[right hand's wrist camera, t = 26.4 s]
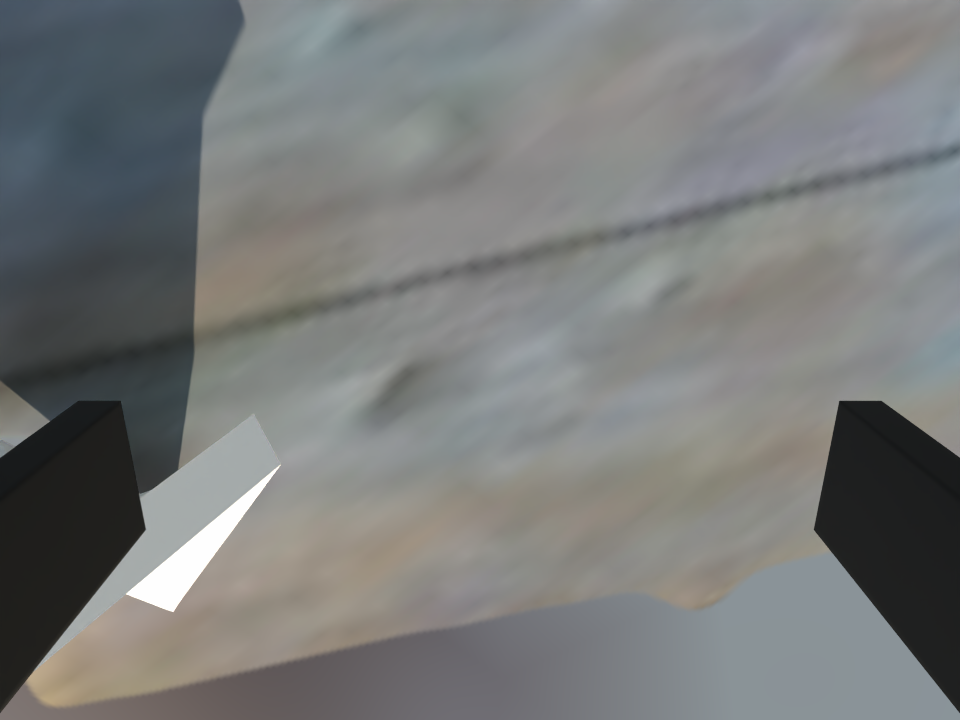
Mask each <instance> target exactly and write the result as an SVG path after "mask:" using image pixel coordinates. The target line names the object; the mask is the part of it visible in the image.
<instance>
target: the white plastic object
mask: <svg viewBox="0 0 960 720" xmlns="http://www.w3.org/2000/svg"><path fill="white" fill-rule="evenodd" d="M14 447H15V446H13V445H11V444H9V443H7V442H5V441H3V440H1V439H0V458H1V457H2V456H3V455H5V454H6V453H7V452H9V451H10V450H12V449H13V448H14ZM280 465H281V463H280V461H279V459H278V458H277V456H276V454H275V452H274V450H273V448H272V446H271V445H270V443H269V441H268V439H267V437H266V435H265V433H264V431H263V430H262V428H261V426H260V424H259V422H258V420H257V418H256V417H255V415H254V414H253V415H251V416H250V417H249V418H247V419H246V420H245V421H243V422H242V423H241V424H239V425H238V426H237V427H235V428H234V429H233V430H231V431H230V432H229V433H227V434H226V435H225V436H223V437H222V438H221V439H219V440H218V441H216V442H215V443H214V444H212V445H211V446H210V447H208V448H207V449H206V450H204V451H203V452H202V453H200V454H199V455H198V456H196V457H195V458H194V459H192V460H191V461H190V462H188V463H187V464H186V465H184V466H183V467H182V468H180V469H179V470H178V471H176V472H175V473H174V474H172V475H171V476H170V477H168V478H167V479H166V480H164V481H163V482H162V483H160V484H159V485H158V486H156V487H155V488H153V489H152V490H150V491H147V492H144V493H141V494H139V497H140V502H141V507H142V512H143V517H144V522H145V527H146V530H145V532H144V533H143V534H142V535H141V537H140V538H139V539H138V540H137V542H136V543H135V544H134V546H133V547H132V548H131V549H130V551H129V552H128V553H127V554H126V556H125V557H124V558H123V559H122V561H121V562H120V563H119V564H118V566H117V567H116V568H115V569H114V571H113V572H112V573H111V574H110V576H109V577H108V578H107V579H106V581H105V582H104V583H103V584H102V586H101V587H100V588H99V589H98V591H97V592H96V593H95V595H94V596H93V597H92V598H91V600H90V601H89V602H88V603H87V605H86V606H85V607H84V608H83V610H82V611H81V612H80V613H79V615H78V616H77V617H76V618H75V620H74V621H73V622H72V623H71V625H70V626H69V627H68V628H67V630H66V631H65V632H64V633H63V635H62V636H61V637H60V638H59V640H58V641H57V642H56V644H55V645H54V646H53V647H52V649H51V650H50V651H49V652H48V654H47V655H46V656H45V657H44V659H43V660H42V661H41V662H40V664H39V665H38V666H37V667H36V669H37V668H38V667H39V666H41V665H42V664H43V663H44V662H45V661H47V660H48V659H49V658H50V657H51V656H53V655H54V654H55V653H56V652H57V651H58V650H60V649H61V648H62V647H63V646H64V645H66V644H67V643H68V642H69V641H70V640H72V639H73V638H74V637H75V636H76V635H78V634H79V633H80V632H81V631H82V630H84V629H85V628H86V627H87V626H88V625H90V624H91V623H92V622H93V621H94V620H96V619H97V618H98V617H99V616H100V615H101V614H103V613H104V612H105V611H106V610H107V609H109V608H110V607H111V606H112V605H113V604H115V603H116V602H117V601H118V600H119V599H121V598H122V597H123V596H124V595H125V594H127V595H130V596H133V597H135V598H138V599H140V600H143V601H146V602H148V603H151V604H153V605H156V606H158V607H161V608H164V609H166V610H169V611H172V612H174V610H175V608H176V607H177V605H178V604H179V602H180V601H181V600H182V598H183V597H184V595H185V594H186V592H187V591H188V590H189V588H190V587H191V586H192V584H193V583H194V582H195V580H196V579H197V577H198V576H199V575H200V573H201V572H202V571H203V569H204V568H205V567H206V565H207V564H208V563H209V561H210V560H211V559H212V557H213V556H214V554H215V553H216V552H217V550H218V549H219V548H220V546H221V545H222V544H223V542H224V541H225V540H226V538H227V537H228V535H229V534H230V533H231V531H232V530H233V529H234V527H235V526H236V525H237V523H238V522H239V521H240V519H241V518H242V516H243V515H244V514H245V512H246V511H247V510H248V508H249V507H250V506H251V504H252V503H253V502H254V500H255V499H256V497H257V496H258V495H259V493H260V492H261V491H262V489H263V488H264V487H265V485H266V484H267V483H268V481H269V480H270V478H271V477H272V476H273V474H274V473H275V472H276V470H277V469H278V468H279V466H280ZM36 669H35V670H36ZM35 670H34V671H35Z"/></svg>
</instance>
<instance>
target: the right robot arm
mask: <svg viewBox="0 0 960 720" xmlns="http://www.w3.org/2000/svg"><path fill="white" fill-rule="evenodd" d="M145 530H146V527H145V522H144V517H143V512H142V507H141V502H140V497H139V491H138V486H137V481H136V476H135V471H134V466H133V461H132V456H131V451H130V446H129V441H128V436H127V431H126V426H125V421H124V416H123V411H122V406H121V401H78V402H76V403H75V404H74V405H72V406H71V407H70V408H68V409H67V410H65V411H64V412H63V413H61V414H60V415H58V416H57V417H56V418H54V419H53V420H52V421H50V422H49V423H47V424H46V425H45V426H43V427H42V428H41V429H39V430H38V431H36V432H35V433H34V434H32V435H31V436H30V437H28V438H27V439H25V440H24V441H23V442H21V443H20V444H18V445H17V446H16V447H14V448H13V449H12V450H10V451H9V452H7V453H6V454H5V455H3V456H2V457H1V458H0V713H1V711H2V710H3V709H4V708H5V706H6V705H7V704H8V703H9V701H10V700H11V699H12V698H13V696H14V695H15V694H16V692H17V691H18V690H19V689H20V687H21V686H22V685H23V684H24V682H25V681H26V680H27V679H28V677H29V676H30V675H31V674H32V672H33V671H34V670H35V669H36V667H37V666H38V665H39V664H40V662H41V661H42V660H43V659H44V657H45V656H46V655H47V654H48V652H49V651H50V650H51V649H52V647H53V646H54V645H55V644H56V642H57V641H58V640H59V638H60V637H61V636H62V635H63V633H64V632H65V631H66V630H67V628H68V627H69V626H70V625H71V623H72V622H73V621H74V620H75V618H76V617H77V616H78V615H79V613H80V612H81V611H82V610H83V608H84V607H85V606H86V605H87V603H88V602H89V601H90V600H91V598H92V597H93V596H94V595H95V593H96V592H97V591H98V589H99V588H100V587H101V586H102V584H103V583H104V582H105V581H106V579H107V578H108V577H109V576H110V574H111V573H112V572H113V571H114V569H115V568H116V567H117V566H118V564H119V563H120V562H121V561H122V559H123V558H124V557H125V556H126V554H127V553H128V552H129V551H130V549H131V548H132V547H133V546H134V544H135V543H136V542H137V540H138V539H139V538H140V537H141V535H142V534H143V533H144V532H145ZM814 530H815V532H816V533H817V534H818V535H819V537H820V538H821V539H822V540H823V542H824V543H825V544H826V546H827V547H828V548H829V549H830V551H831V552H832V553H833V554H834V556H835V557H836V558H837V559H838V561H839V562H840V563H841V564H842V566H843V567H844V568H845V569H846V571H847V572H848V573H849V574H850V576H851V577H852V578H853V579H854V581H855V582H856V583H857V584H858V586H859V587H860V588H861V589H862V591H863V592H864V593H865V595H866V596H867V597H868V598H869V600H870V601H871V602H872V603H873V605H874V606H875V607H876V608H877V610H878V611H879V612H880V613H881V615H882V616H883V617H884V618H885V620H886V621H887V622H888V623H889V625H890V626H891V627H892V628H893V630H894V631H895V632H896V633H897V635H898V636H899V637H900V638H901V640H902V641H903V642H904V644H905V645H906V646H907V647H908V649H909V650H910V651H911V652H912V654H913V655H914V656H915V657H916V658H917V660H918V661H919V662H920V664H921V665H922V666H923V667H924V669H925V670H926V671H927V672H928V674H929V675H930V676H931V677H932V679H933V680H934V681H935V682H936V684H937V685H938V686H939V687H940V689H941V690H942V691H943V693H944V694H945V695H946V696H947V697H948V699H949V700H950V701H951V703H952V704H953V705H954V706H955V708H956V709H957V710H958V711H959V713H960V458H959V457H958V456H957V455H955V454H954V453H953V452H951V451H950V450H948V449H947V448H946V447H944V446H943V445H942V444H940V443H939V442H937V441H936V440H935V439H933V438H932V437H930V436H929V435H928V434H926V433H925V432H924V431H922V430H921V429H919V428H918V427H917V426H915V425H914V424H913V423H911V422H910V421H908V420H907V419H906V418H904V417H903V416H902V415H900V414H899V413H897V412H896V411H895V410H893V409H892V408H890V407H889V406H888V405H886V404H885V403H884V402H882V401H839V406H838V411H837V416H836V421H835V426H834V431H833V436H832V441H831V446H830V451H829V456H828V461H827V466H826V471H825V476H824V481H823V486H822V491H821V496H820V502H819V507H818V512H817V517H816V522H815V527H814Z"/></svg>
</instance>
